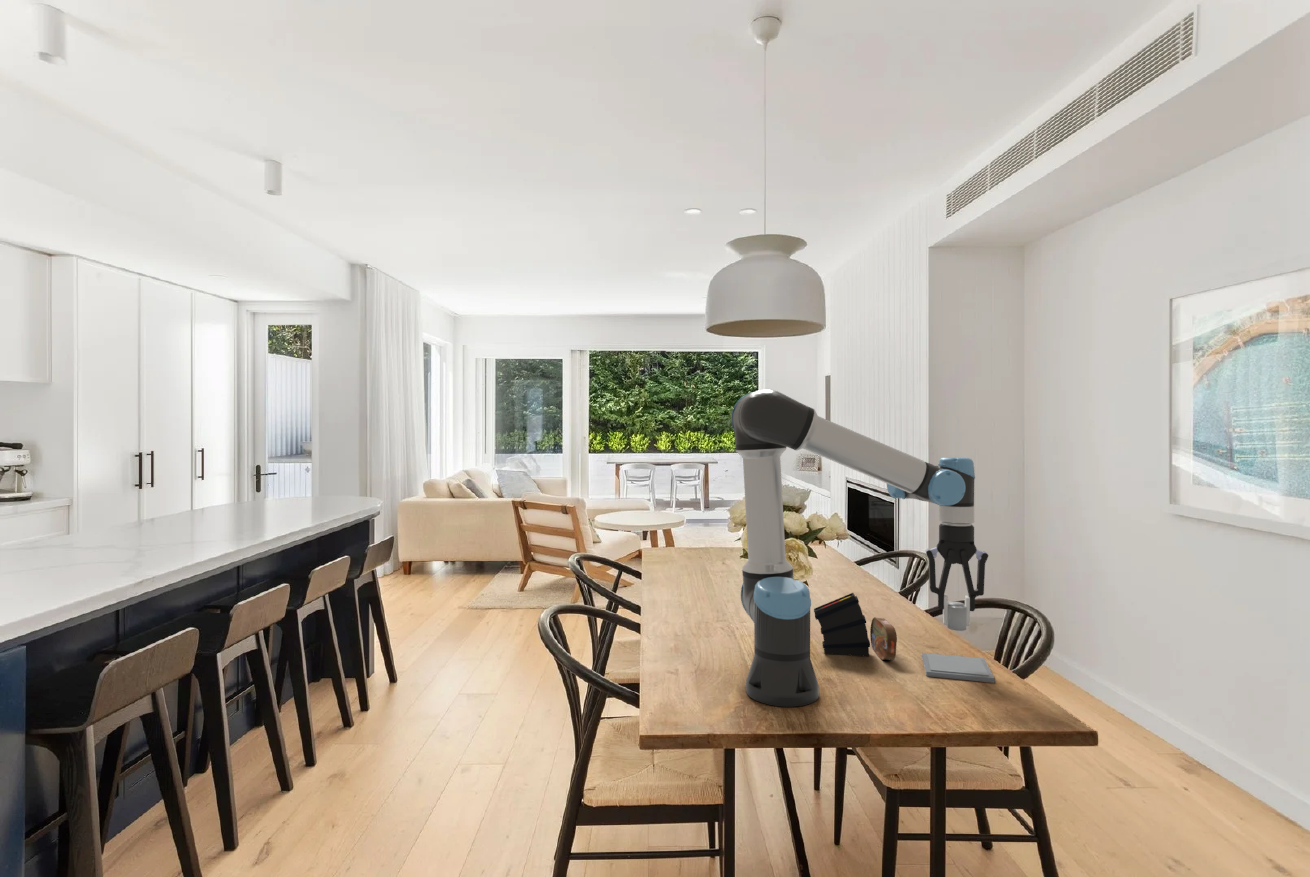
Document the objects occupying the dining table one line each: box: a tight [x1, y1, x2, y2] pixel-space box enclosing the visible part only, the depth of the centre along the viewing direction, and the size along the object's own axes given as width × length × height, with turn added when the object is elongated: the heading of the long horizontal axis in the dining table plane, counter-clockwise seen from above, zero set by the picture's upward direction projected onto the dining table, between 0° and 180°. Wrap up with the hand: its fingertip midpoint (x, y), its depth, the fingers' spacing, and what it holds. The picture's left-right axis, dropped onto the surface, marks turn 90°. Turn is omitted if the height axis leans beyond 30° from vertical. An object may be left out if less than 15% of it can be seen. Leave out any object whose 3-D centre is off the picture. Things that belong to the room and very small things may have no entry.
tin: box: [869, 617, 898, 661], centre depth 170 cm, size 15×3×8 cm, turn 177°
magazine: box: [813, 592, 871, 657], centre depth 171 cm, size 4×13×15 cm, turn 78°
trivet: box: [921, 652, 996, 684], centre depth 159 cm, size 14×14×1 cm
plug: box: [946, 601, 967, 632], centre depth 160 cm, size 4×9×5 cm, turn 163°
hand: (956, 623), depth 159 cm, fingers closed on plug, 4 cm apart
